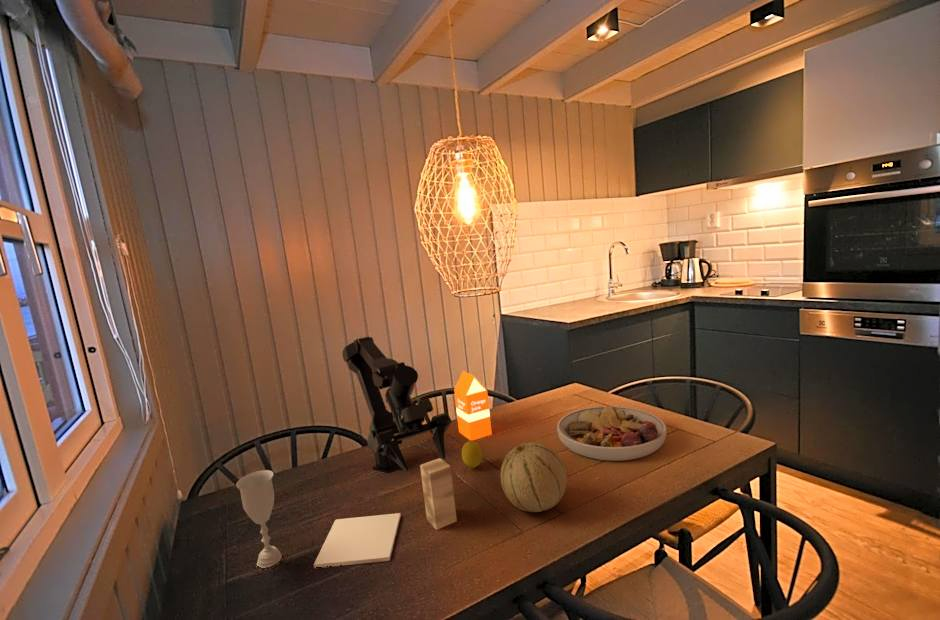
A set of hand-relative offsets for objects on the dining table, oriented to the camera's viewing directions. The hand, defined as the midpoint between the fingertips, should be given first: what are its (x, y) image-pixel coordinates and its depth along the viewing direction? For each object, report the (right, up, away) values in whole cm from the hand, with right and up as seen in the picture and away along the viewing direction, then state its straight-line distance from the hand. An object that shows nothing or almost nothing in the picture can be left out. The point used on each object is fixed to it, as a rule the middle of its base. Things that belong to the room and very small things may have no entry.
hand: (426, 465), depth 104 cm
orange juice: (+12, -4, +43) cm, 44 cm away
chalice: (-31, -16, -11) cm, 37 cm away
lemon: (+11, -8, +19) cm, 24 cm away
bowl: (+51, -3, +28) cm, 58 cm away
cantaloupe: (+25, -9, -1) cm, 27 cm away
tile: (-13, -14, -7) cm, 20 cm away
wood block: (+4, -11, -3) cm, 12 cm away
